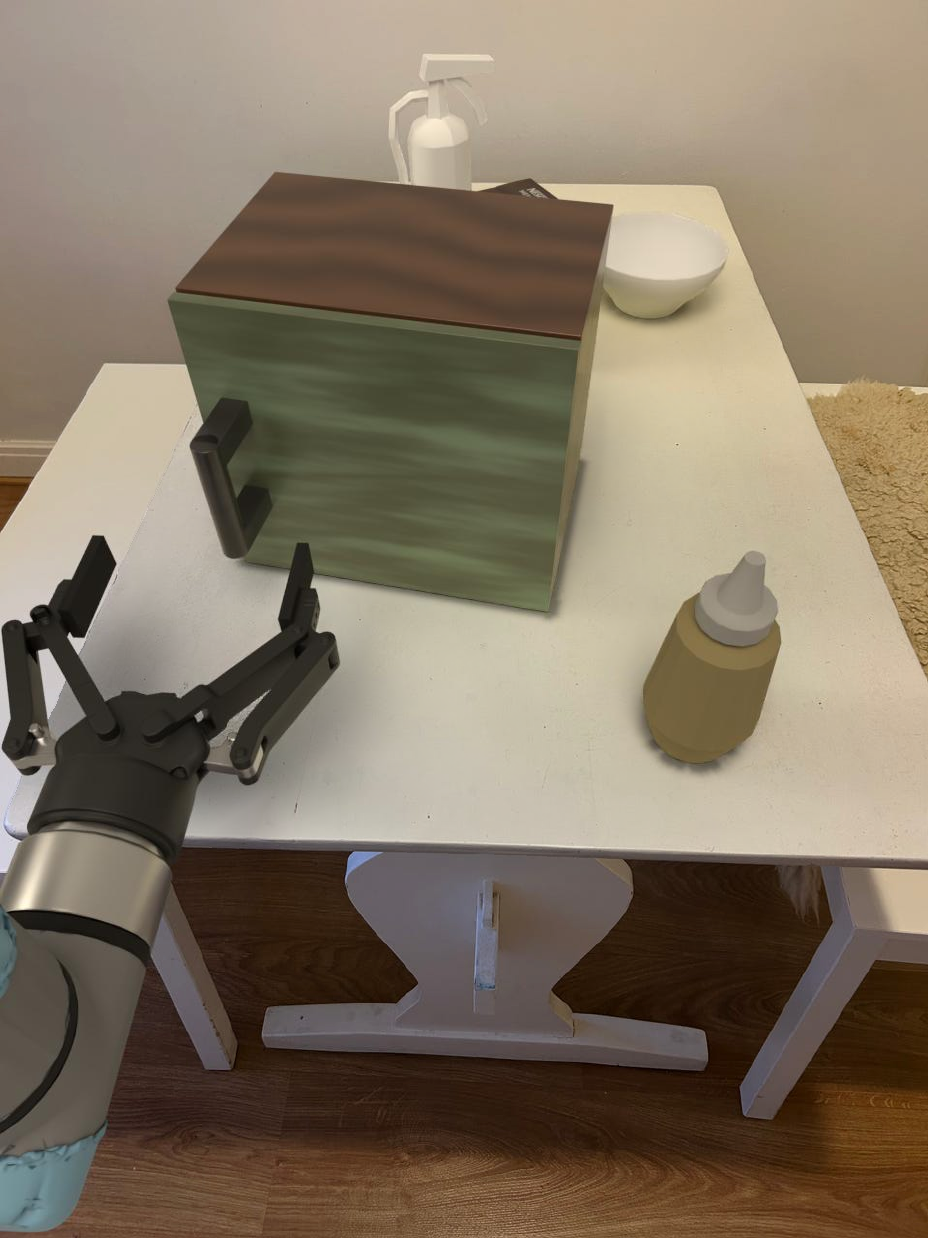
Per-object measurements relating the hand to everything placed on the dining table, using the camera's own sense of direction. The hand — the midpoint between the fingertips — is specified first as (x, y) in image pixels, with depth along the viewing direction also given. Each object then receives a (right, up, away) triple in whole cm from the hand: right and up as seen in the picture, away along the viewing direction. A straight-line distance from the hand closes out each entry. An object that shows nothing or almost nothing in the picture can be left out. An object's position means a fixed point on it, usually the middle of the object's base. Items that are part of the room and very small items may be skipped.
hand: (205, 552), depth 56 cm
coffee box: (+23, +25, +37) cm, 50 cm away
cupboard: (+14, +6, +20) cm, 25 cm away
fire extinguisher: (+14, +33, +43) cm, 56 cm away
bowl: (+39, +33, +43) cm, 67 cm away
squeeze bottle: (+34, -13, +5) cm, 36 cm away
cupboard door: (+11, -4, +12) cm, 17 cm away
